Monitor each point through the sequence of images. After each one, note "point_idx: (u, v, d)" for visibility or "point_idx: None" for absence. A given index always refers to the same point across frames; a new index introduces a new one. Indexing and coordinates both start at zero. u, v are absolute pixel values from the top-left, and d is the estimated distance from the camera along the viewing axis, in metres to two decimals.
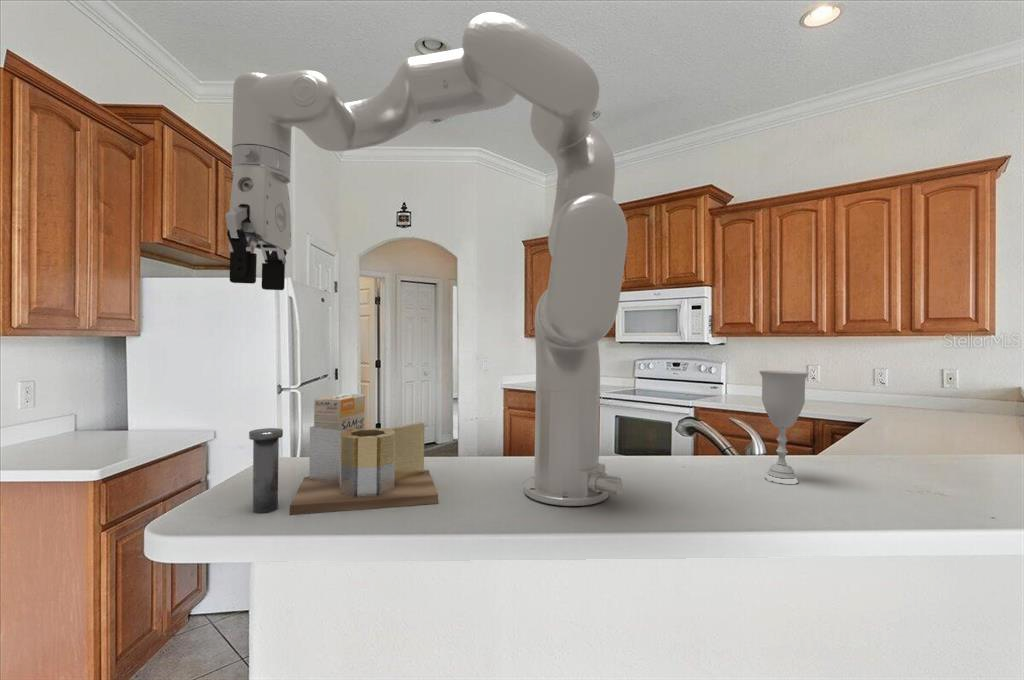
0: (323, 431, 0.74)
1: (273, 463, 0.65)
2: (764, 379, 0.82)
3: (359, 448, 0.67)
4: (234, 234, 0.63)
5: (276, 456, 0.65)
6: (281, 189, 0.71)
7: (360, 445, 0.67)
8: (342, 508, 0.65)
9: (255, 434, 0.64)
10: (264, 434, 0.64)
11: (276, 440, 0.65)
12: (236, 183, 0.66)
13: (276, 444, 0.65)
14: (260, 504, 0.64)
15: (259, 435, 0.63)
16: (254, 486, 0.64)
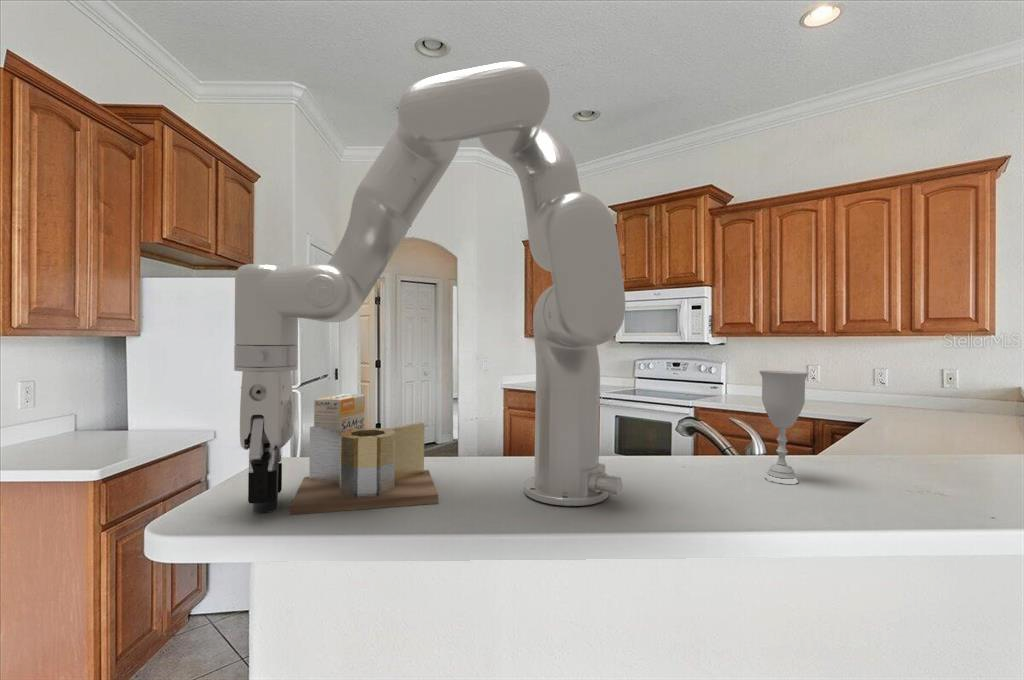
0: (323, 431, 0.74)
1: None
2: (764, 379, 0.82)
3: (359, 448, 0.67)
4: None
5: (276, 456, 0.65)
6: (289, 382, 0.66)
7: (360, 445, 0.67)
8: (342, 508, 0.65)
9: None
10: None
11: None
12: (247, 391, 0.61)
13: None
14: (260, 504, 0.64)
15: None
16: None
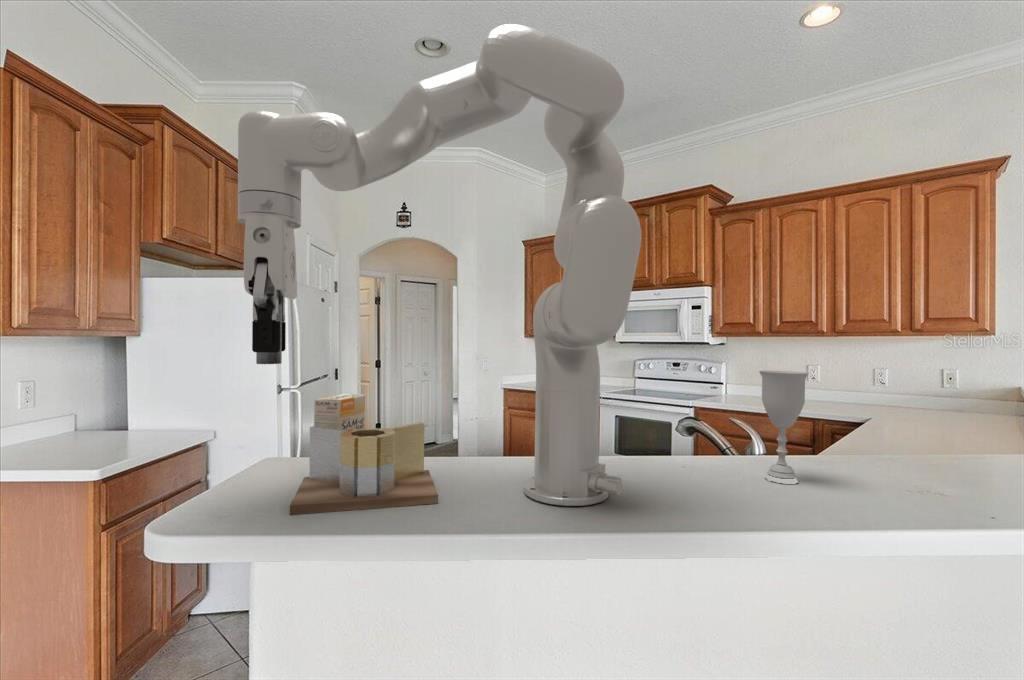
0: (323, 431, 0.74)
1: None
2: (764, 379, 0.82)
3: (359, 448, 0.67)
4: (262, 304, 0.61)
5: (279, 310, 0.65)
6: (292, 237, 0.66)
7: (360, 445, 0.67)
8: (342, 508, 0.65)
9: None
10: None
11: (279, 293, 0.65)
12: (251, 234, 0.61)
13: (280, 298, 0.65)
14: (264, 355, 0.64)
15: None
16: None
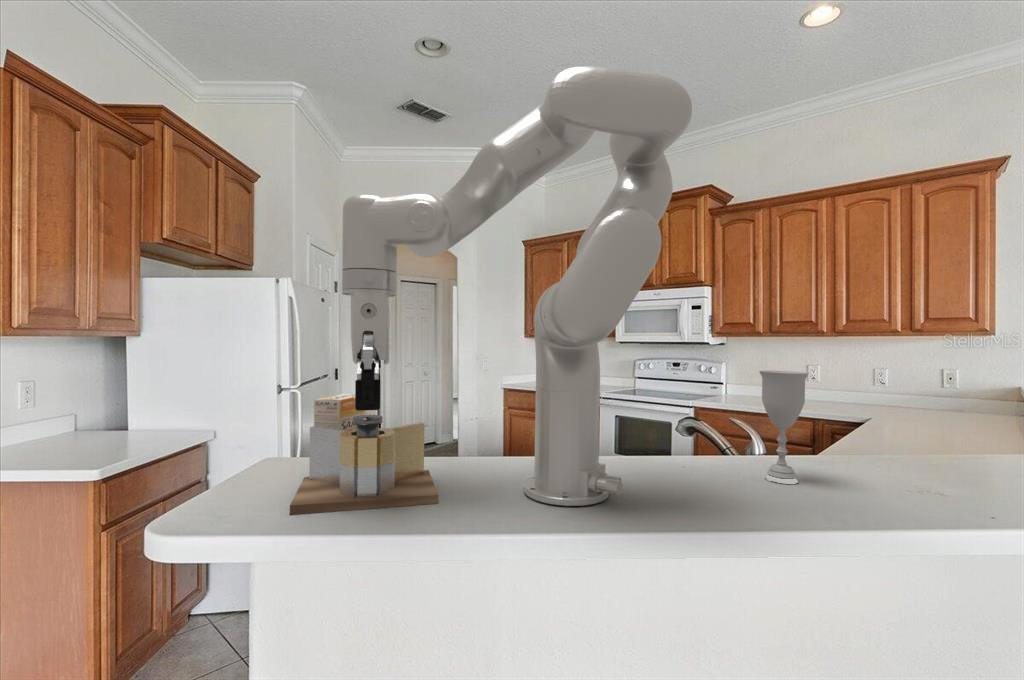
0: (323, 431, 0.74)
1: None
2: (764, 379, 0.82)
3: (359, 448, 0.67)
4: (368, 367, 0.64)
5: None
6: None
7: (360, 445, 0.67)
8: (342, 508, 0.65)
9: (360, 420, 0.68)
10: (369, 419, 0.68)
11: (377, 425, 0.70)
12: (359, 309, 0.66)
13: (378, 429, 0.70)
14: None
15: (364, 420, 0.68)
16: None
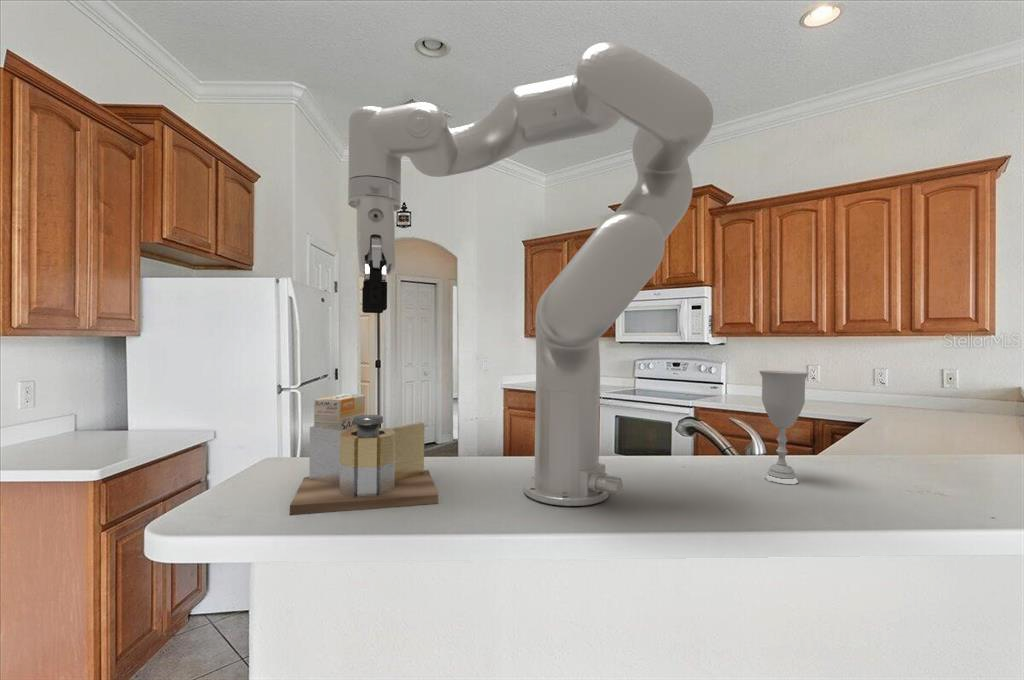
0: (323, 431, 0.74)
1: None
2: (764, 379, 0.82)
3: (359, 448, 0.67)
4: (376, 264, 0.66)
5: None
6: None
7: (360, 445, 0.67)
8: (342, 508, 0.65)
9: (361, 419, 0.68)
10: (369, 419, 0.68)
11: (378, 425, 0.70)
12: (366, 214, 0.69)
13: (378, 429, 0.70)
14: None
15: (365, 420, 0.68)
16: None
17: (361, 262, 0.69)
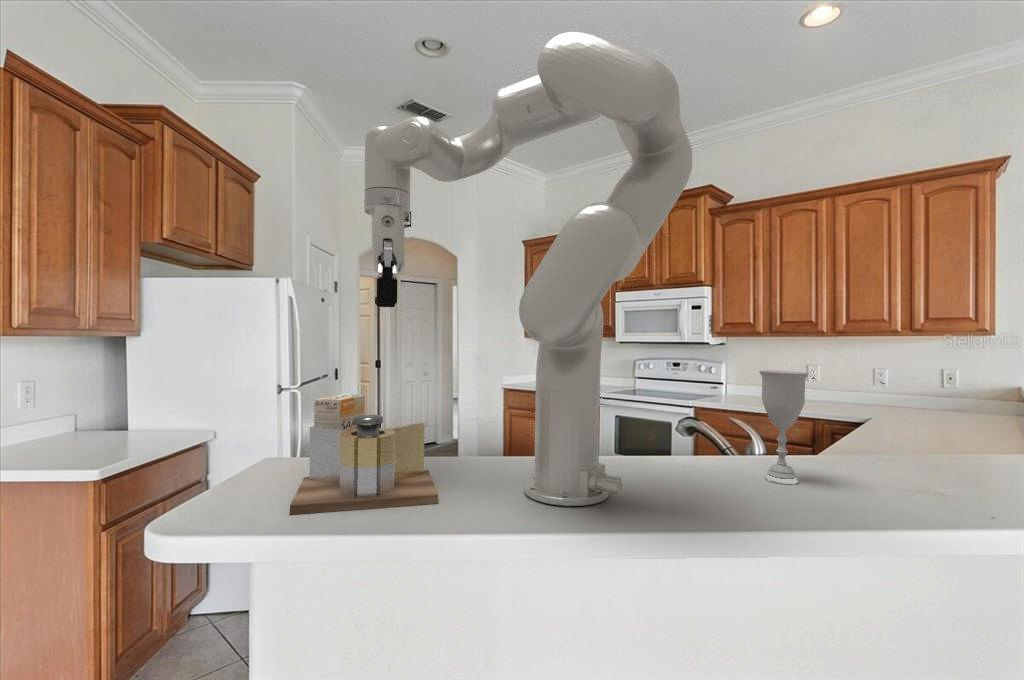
0: (323, 431, 0.74)
1: None
2: (764, 379, 0.82)
3: (359, 448, 0.67)
4: (388, 264, 0.77)
5: None
6: None
7: (360, 445, 0.67)
8: (342, 508, 0.65)
9: (361, 419, 0.68)
10: (369, 419, 0.68)
11: (378, 425, 0.70)
12: (379, 220, 0.79)
13: (378, 429, 0.70)
14: None
15: (365, 420, 0.68)
16: None
17: (375, 262, 0.79)
